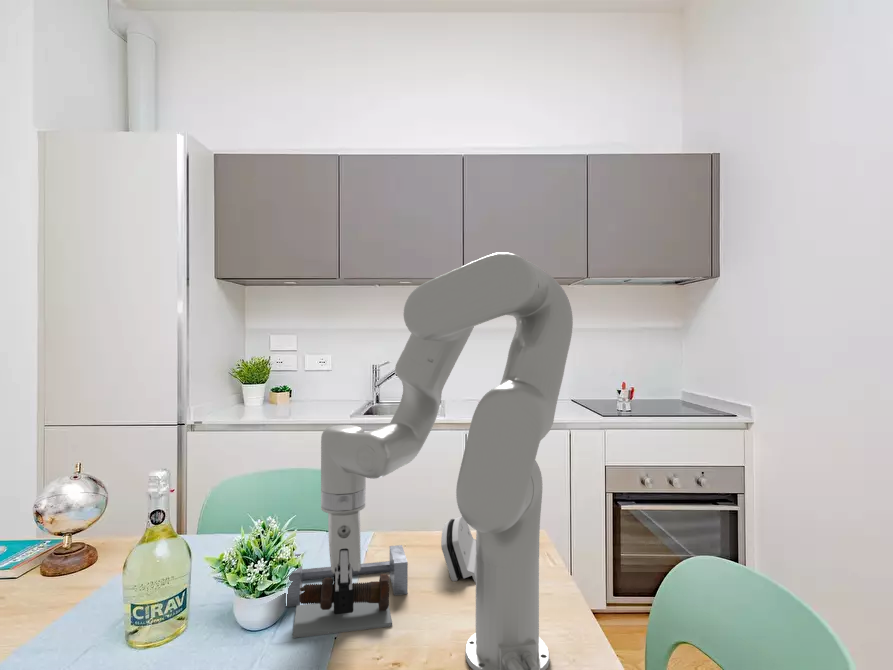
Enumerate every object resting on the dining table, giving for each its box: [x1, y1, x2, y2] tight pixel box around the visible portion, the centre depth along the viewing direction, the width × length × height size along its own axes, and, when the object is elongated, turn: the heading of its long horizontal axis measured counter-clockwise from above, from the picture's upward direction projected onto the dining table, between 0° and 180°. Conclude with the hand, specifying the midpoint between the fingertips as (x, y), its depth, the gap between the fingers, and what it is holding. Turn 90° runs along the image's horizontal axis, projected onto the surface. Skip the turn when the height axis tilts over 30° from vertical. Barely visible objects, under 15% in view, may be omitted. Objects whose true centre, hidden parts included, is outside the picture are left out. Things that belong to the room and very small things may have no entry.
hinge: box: [440, 516, 476, 583], centre depth 110 cm, size 17×5×10 cm, turn 173°
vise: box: [286, 544, 409, 608], centre depth 100 cm, size 11×22×6 cm, turn 102°
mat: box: [292, 602, 393, 639], centre depth 89 cm, size 9×16×1 cm, turn 103°
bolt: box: [299, 573, 391, 611], centre depth 89 cm, size 6×5×15 cm
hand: (343, 602), depth 89 cm, fingers closed on bolt, 5 cm apart
